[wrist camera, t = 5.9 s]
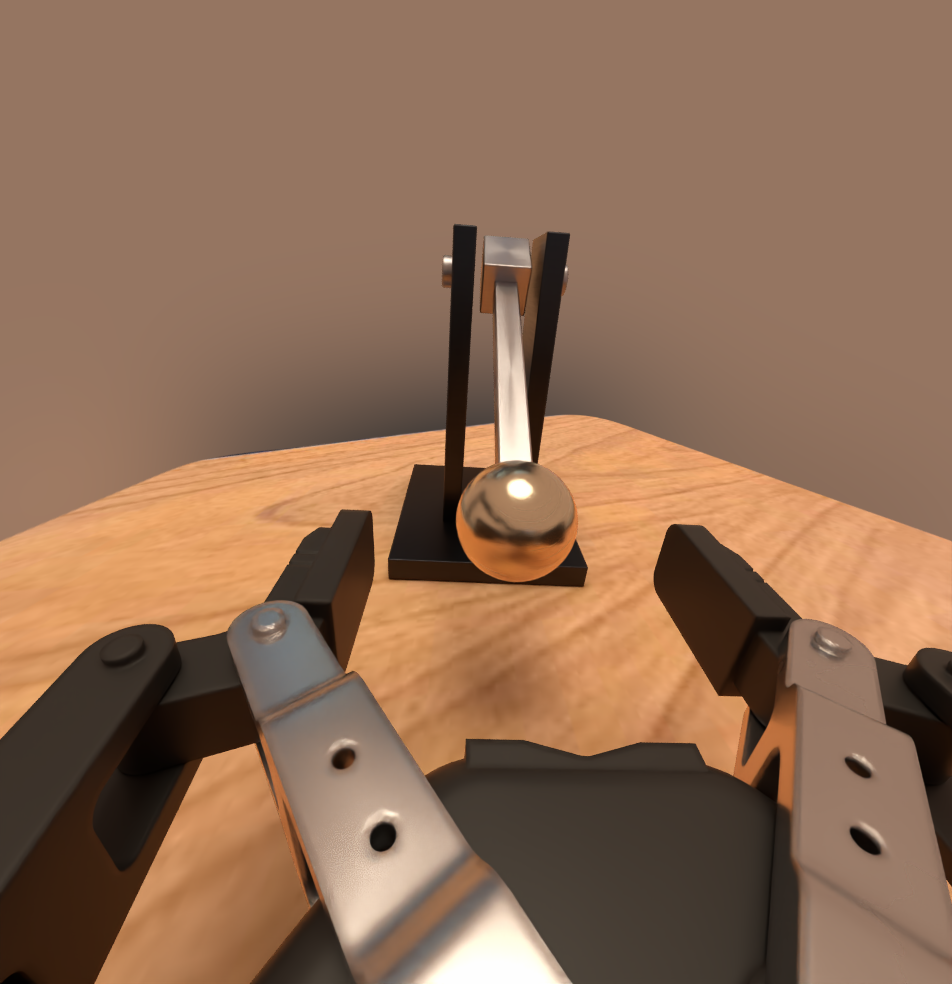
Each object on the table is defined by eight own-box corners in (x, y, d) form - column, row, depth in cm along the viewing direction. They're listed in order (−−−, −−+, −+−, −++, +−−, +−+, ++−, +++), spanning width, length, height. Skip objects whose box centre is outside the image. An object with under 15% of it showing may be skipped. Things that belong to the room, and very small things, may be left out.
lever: (567, 603, 13) (604, 548, 10) (451, 598, 13) (455, 541, 10) (532, 298, 23) (545, 225, 20) (466, 292, 23) (470, 220, 20)
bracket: (583, 586, 22) (664, 228, 15) (388, 578, 22) (376, 205, 14) (545, 485, 33) (581, 249, 26) (414, 478, 32) (414, 236, 25)
